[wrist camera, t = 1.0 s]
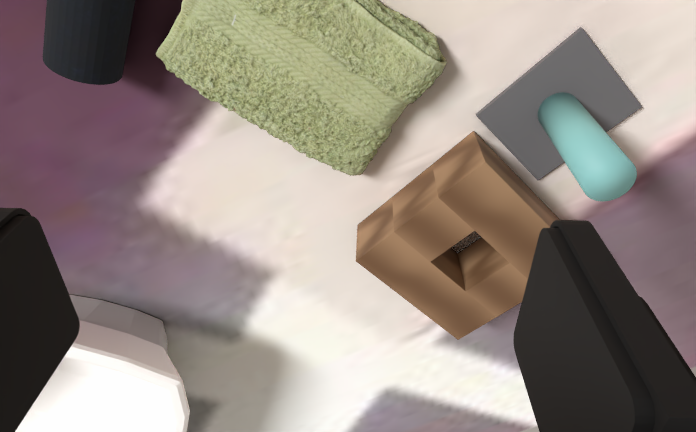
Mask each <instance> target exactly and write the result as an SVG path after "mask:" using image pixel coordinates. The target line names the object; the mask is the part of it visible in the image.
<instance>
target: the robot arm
mask: <svg viewBox="0 0 696 432" xmlns="http://www.w3.org/2000/svg"><path fill="white" fill-rule="evenodd" d="M79 328H80V321H79V318H78V315H77V313H76V310H75V308H74V306H73V303H72V301H71V298H70V296H69V293H68V291H67V288H66V286H65V284H64V281H63V279H62V276H61V274H60V271H59V269H58V266H57V264H56V261H55V259H54V257H53V254H52V252H51V249H50V247H49V244H48V242H47V239H46V237H45V235H44V232H43V230H42V227H41V225H40V223H39V221H38V220H37V219H36V218H35V217H32V216H31V215H30V213H29V212H28V211H26V210H25V209H22V208H0V432H15V431H16V430H17V428H18V426H19V425H20V423H21V422H22V420H23V419H24V417H25V416H26V414H27V413H28V411H29V410H30V408H31V407H32V405H33V404H34V402H35V401H36V399H37V398H38V396H39V394H40V393H41V391H42V390H43V388H44V387H45V385H46V384H47V382H48V381H49V379H50V378H51V376H52V375H53V373H54V372H55V370H56V369H57V367H58V365H59V364H60V362H61V361H62V359H63V358H64V356H65V355H66V353H67V352H68V350H69V349H70V347H71V346H72V344H73V343H74V341H75V340H76V338H77V336H78V333H79ZM514 349H515V353H516V356H517V360H518V363H519V366H520V370H521V373H522V376H523V379H524V383H525V386H526V389H527V392H528V396H529V399H530V402H531V405H532V409H533V412H534V415H535V418H536V422H537V425H538V428H539V431H540V432H696V377H695V376H694V374H693V373H692V371H691V369H690V368H689V366H688V365H687V363H686V362H685V360H684V359H683V357H682V356H681V354H680V353H679V351H678V350H677V348H676V347H675V345H674V344H673V342H672V341H671V339H670V338H669V336H668V335H667V333H666V332H665V330H664V329H663V327H662V325H661V324H660V322H659V321H658V319H657V318H656V316H655V315H654V313H653V312H652V310H651V309H650V307H649V306H648V304H647V303H646V302H645V301H644V300H643V299H642V297H640V296H638V294H637V293H636V291H635V290H634V288H633V287H632V285H631V284H630V282H629V281H628V279H627V278H626V276H625V274H624V273H623V271H622V270H621V268H620V267H619V265H618V264H617V262H616V261H615V259H614V258H613V256H612V254H611V253H610V251H609V250H608V248H607V247H606V245H605V244H604V242H603V241H602V239H601V238H600V236H599V234H598V233H597V231H596V230H595V228H594V227H593V225H592V224H591V223H590V222H589V221H574V220H555V221H553V223H552V224H551V226H550V228H543V229H542V230H541V231H540V234H539V238H538V242H537V245H536V249H535V253H534V257H533V261H532V265H531V269H530V273H529V277H528V280H527V284H526V288H525V292H524V296H523V300H522V304H521V308H520V312H519V315H518V319H517V323H516V327H515V331H514Z"/></svg>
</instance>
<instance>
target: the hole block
mask: <svg viewBox="0 0 696 432" xmlns="http://www.w3.org/2000/svg"><path fill="white" fill-rule="evenodd" d="M555 220H560V219H559V218H558V217H557V216H556V215H555V214H554V213H553V212H552V211H551V210H550V209H549V208H548V207H547V206H546V205H545V204H544V203H543V202H542V201H541V200H540V199H539V198H538V197H537V196H536V195H535V194H534V193H533V192H532V191H531V189H530V188H529V187H528V186H527V185H526V184H525V183H524V182H523V181H522V180H521V179H520V178H519V177H518V176H517V175H516V174H515V173H514V172H513V171H512V170H511V169H510V168H509V167H508V166H507V165H506V164H505V163H504V162H503V161H502V160H501V159H500V158H499V157H498V156H497V155H496V153H495V152H494V151H493V150H492V149H491V148H490V147H489V146H488V145H487V144H486V143H485V142H484V141H483V140H482V139H481V138H480V137H479V136H478V135H477V134H476V133H475V132H474V131H473V132H472V133H471V134H469V135H468V136H467V137H466V138H464V139H463V140H462V141H461V142H459V143H458V144H457V145H456V146H455V147H453V148H452V149H451V150H450V151H448V152H447V153H446V154H445V155H443V156H442V157H441V158H440V159H439V160H437V161H436V162H435V163H434V164H432V165H431V166H430V167H429V168H427V169H426V170H425V171H424V172H422V173H421V174H420V175H419V176H418V177H416V178H415V179H414V180H413V181H411V182H410V183H409V184H408V185H406V186H405V187H404V188H403V189H402V190H400V191H399V192H398V193H397V194H395V195H394V196H393V197H392V198H390V199H389V200H388V201H387V202H386V203H384V204H383V205H382V206H381V207H379V208H378V209H377V210H376V211H374V212H373V213H372V214H371V215H370V216H368V217H367V218H366V219H365V220H363V221H362V222H361V223H360V224H358V228H357V249H356V262H358V263H359V264H360V265H362V266H363V267H364V268H365V269H367V270H368V271H369V272H371V273H372V274H373V275H375V276H376V277H377V278H378V279H380V280H381V281H382V282H384V283H385V284H386V285H388V286H389V287H390V288H391V289H393V290H394V291H395V292H397V293H398V294H399V295H401V296H402V297H403V298H404V299H406V300H407V301H408V302H410V303H411V304H412V305H414V306H415V307H416V308H417V309H419V310H420V311H421V312H423V313H424V314H425V315H427V316H428V317H429V318H430V319H432V320H433V321H434V322H436V323H437V324H438V325H440V326H441V327H442V328H443V329H445V330H446V331H447V332H449V333H450V334H451V335H453V336H454V337H455V338H456V339H458V340H459V339H460V338H462V337H464V336H465V335H467V334H469V333H470V332H472V331H474V330H475V329H477V328H479V327H481V326H482V325H484V324H486V323H487V322H489V321H491V320H492V319H494V318H496V317H497V316H499V315H501V314H502V313H504V312H506V311H507V310H509V309H511V308H513V307H514V306H516V305H518V304H519V303H521V302H522V300H523V296H524V292H525V288H526V284H527V280H528V277H529V273H530V269H531V265H532V261H533V257H534V253H535V249H536V245H537V242H538V238H539V234H540V231H541V230H542V229H543V228H550V226H551V224H552V223H553V221H555ZM474 231H476V232H477V233H478V234H479V235H480V236H481V238H480V239H478V240H477V241H475V242H474V243H472V244H471V245H469V246H468V247H467V248H465V249H464V250H462V251H461V252H459V253H458V254H457V253H456V252H455V251H454V250H453V249H451V247H452V246H454V245H455V244H456V243H458V242H459V241H461V240H462V239H464V238H465V237H466V236H468V235H469V234H471V233H472V232H474Z"/></svg>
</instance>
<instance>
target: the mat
mask: <svg viewBox="0 0 696 432" xmlns="http://www.w3.org/2000/svg"><path fill="white" fill-rule="evenodd" d="M560 92H565V93H569V94H572V95H573V96H575V97H576V98H577V100H578V101H579V102H580V103H581V104H582V105H583V107H584V108H585V109H586V110H587V111H588V112H589V113H590V115H591V116H592V117H593V118H594V119H595V120H596V122H597V123H598V124H599V125H600V126H601V127H602V128H603V130H604V131H605V132H607V131H609V130H610V129H611V128H613V127H614V126H616V125H617V124H618V123H620V122H621V121H623V120H624V119H625V118H627V117H628V116H630V115H631V114H633V113H634V112H635V111H637V110H638V109H640V108H641V107H642V106H641V105H640V103H639V102H638V101H637V100H636V98H635V97H634V96H633V94H632V93H631V92H630V90H629V89H628V88H627V86H626V85H625V84H624V82H623V81H622V80H621V78H620V77H619V76H618V74H617V73H616V72H615V71H614V69H613V68H612V67H611V65H610V64H609V63H608V61H607V60H606V59H605V57H604V56H603V55H602V53H601V52H600V51H599V49H598V48H597V47H596V46H595V44H594V43H593V42H592V40H591V39H590V38H589V36H588V35H587V34H586V32H585V31H584V30H583V29H582V28H581V27H580V28H579V29H578V30H577V31H576V32H574V33H573V34H572V35H571V36H569V37H568V38H567V39H566V40H565V41H563V42H562V43H561V44H560V45H559V46H557V47H556V48H555V49H554V50H553V51H551V52H550V53H549V54H548V55H547V56H545V57H544V58H543V59H542V60H541V61H539V62H538V63H537V64H536V65H534V66H533V67H532V68H531V69H530V70H528V71H527V72H526V73H525V74H524V75H522V76H521V77H520V78H519V79H518V80H516V81H515V82H514V83H513V84H512V85H510V86H509V87H508V88H507V89H506V90H504V91H503V92H502V93H501V94H499V95H498V96H497V97H496V98H495V99H493V100H492V101H491V102H490V103H489V104H487V105H486V106H485V107H484V108H483V109H481V110H480V111H479V112H478V113H477V114H476V116H477V117H478V118H479V119H480V120H481V121H482V122H483V123H484V124H485V125H486V126H487V128H488V129H489V130H490V131H491V132H492V133H493V134H494V135H495V136H496V137H497V138H498V139H499V140H500V141H501V142H502V143H503V144H504V145H505V146H506V147H507V149H508V150H509V151H510V152H511V153H512V154H513V155H514V156H515V157H516V158H517V159H518V160H519V161H520V162H521V163H522V164H523V165H524V166H525V167H526V168H527V170H528V171H529V172H530V173H531V174H532V175H533V176H534V177H535V178H536V179H537V180H539V179H541V178H542V177H544V176H545V175H546V174H548V173H549V172H551V171H552V170H553V169H555V168H556V167H558V166H559V165H560V164H562V163H563V162H565V161H564V160H563V158H562V157H561V155H560V154H559V152H558V150H557V149H556V147H555V146H554V144H553V143H552V141H551V140H550V138H549V136H548V135H547V133H546V132H545V130H544V129H543V127H542V126H541V124H540V122H539V120H538V110H539V107H540V105H541V104H542V102H543V101H544V100H545V99H546V98H548V97H549V96H551V95H553V94H556V93H560Z"/></svg>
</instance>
